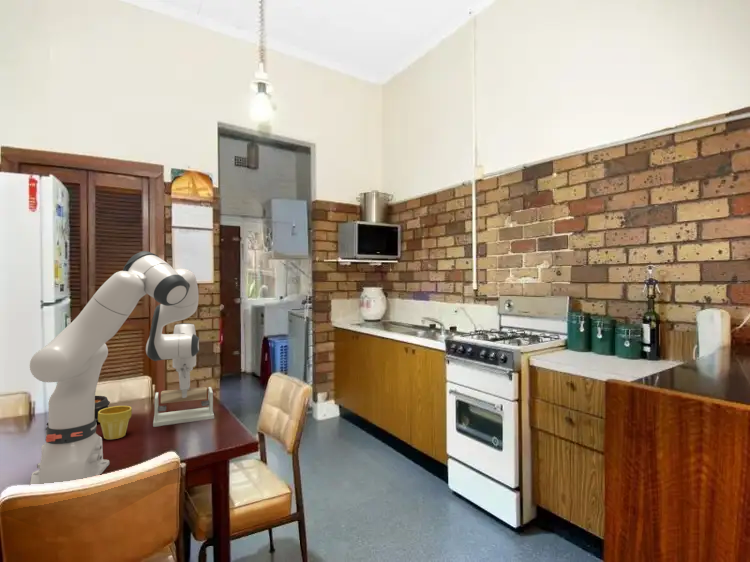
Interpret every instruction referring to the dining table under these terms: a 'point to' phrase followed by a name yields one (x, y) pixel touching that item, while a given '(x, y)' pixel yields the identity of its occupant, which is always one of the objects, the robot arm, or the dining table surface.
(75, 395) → the robot arm
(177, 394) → the pine batten
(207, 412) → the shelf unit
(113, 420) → the plant pot
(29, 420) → the dining table surface
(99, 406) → the casserole
